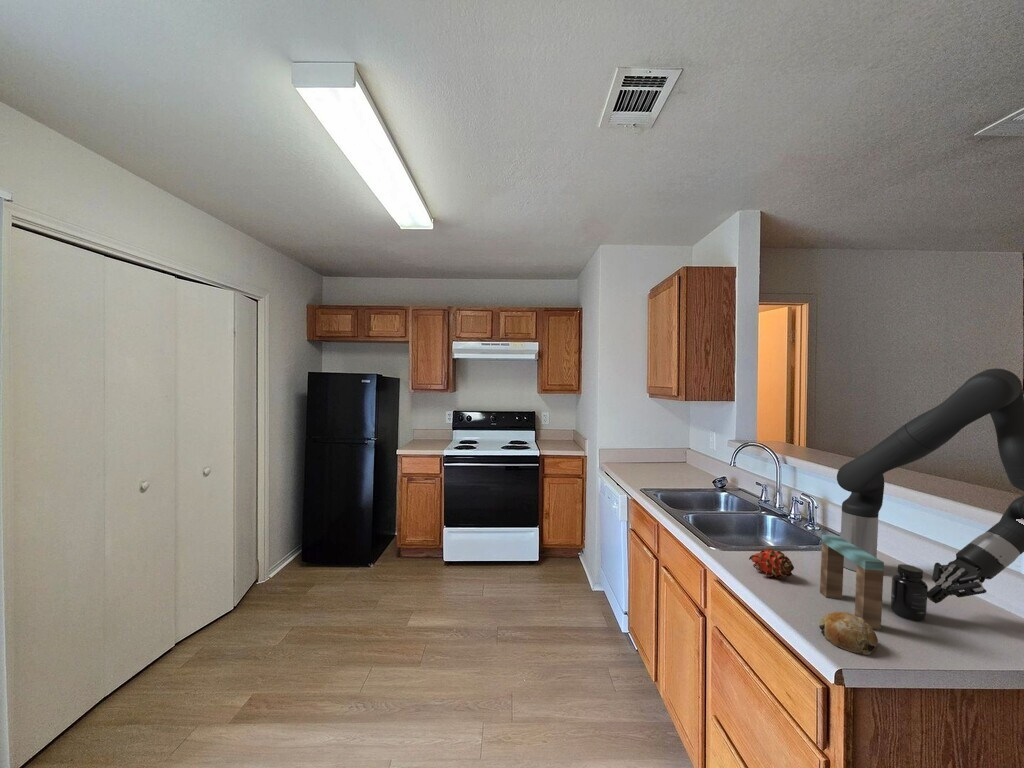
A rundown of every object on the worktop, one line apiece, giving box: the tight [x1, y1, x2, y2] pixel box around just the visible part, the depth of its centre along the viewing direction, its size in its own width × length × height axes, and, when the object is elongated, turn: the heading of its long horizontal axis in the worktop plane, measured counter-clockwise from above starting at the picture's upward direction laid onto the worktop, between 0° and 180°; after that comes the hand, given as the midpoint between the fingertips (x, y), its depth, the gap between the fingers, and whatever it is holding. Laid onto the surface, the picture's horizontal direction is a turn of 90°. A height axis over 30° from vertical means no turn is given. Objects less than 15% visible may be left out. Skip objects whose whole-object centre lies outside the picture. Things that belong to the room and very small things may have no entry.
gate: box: [819, 534, 885, 631], centre depth 115 cm, size 18×4×16 cm, turn 173°
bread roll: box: [817, 611, 879, 656], centre depth 100 cm, size 10×10×8 cm
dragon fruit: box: [748, 547, 795, 579], centre depth 134 cm, size 8×8×12 cm
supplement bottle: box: [890, 563, 929, 622], centre depth 113 cm, size 7×7×12 cm
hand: (930, 599), depth 113 cm, fingers closed
